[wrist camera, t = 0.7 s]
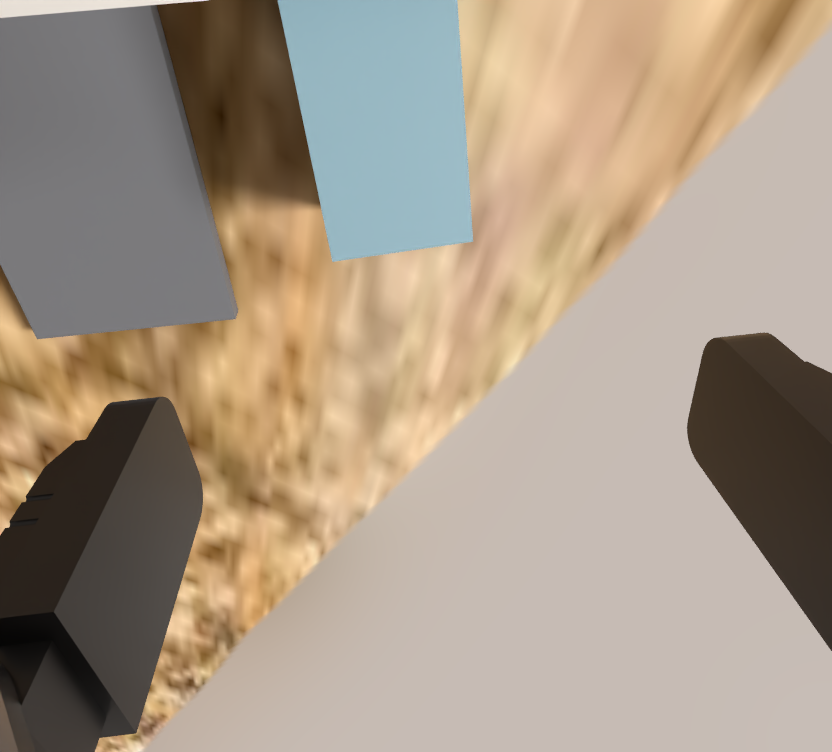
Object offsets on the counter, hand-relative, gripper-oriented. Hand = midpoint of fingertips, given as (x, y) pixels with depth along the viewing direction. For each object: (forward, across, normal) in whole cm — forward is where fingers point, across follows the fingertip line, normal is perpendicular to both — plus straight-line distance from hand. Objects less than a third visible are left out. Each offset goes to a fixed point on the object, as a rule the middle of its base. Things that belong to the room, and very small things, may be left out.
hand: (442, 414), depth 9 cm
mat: (+18, +12, -2) cm, 22 cm away
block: (+19, 0, -4) cm, 19 cm away
